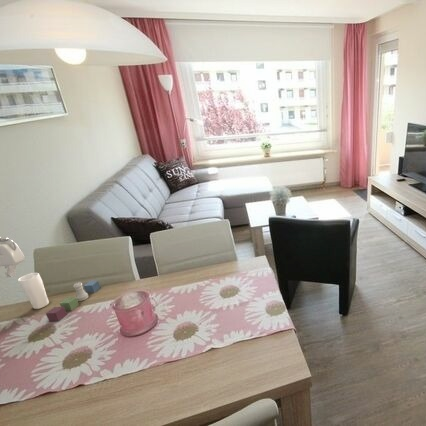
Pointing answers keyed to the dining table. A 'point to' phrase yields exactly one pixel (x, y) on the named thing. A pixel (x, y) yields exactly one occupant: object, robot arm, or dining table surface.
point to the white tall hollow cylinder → (34, 290)
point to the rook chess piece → (80, 292)
